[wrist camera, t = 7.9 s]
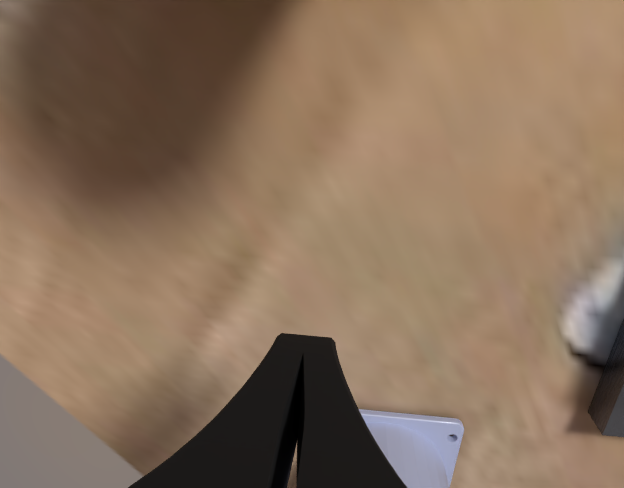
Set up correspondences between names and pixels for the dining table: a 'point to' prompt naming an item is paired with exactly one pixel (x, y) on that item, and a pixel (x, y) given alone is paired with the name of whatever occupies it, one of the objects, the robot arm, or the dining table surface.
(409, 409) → the dining table surface
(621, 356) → the panel
